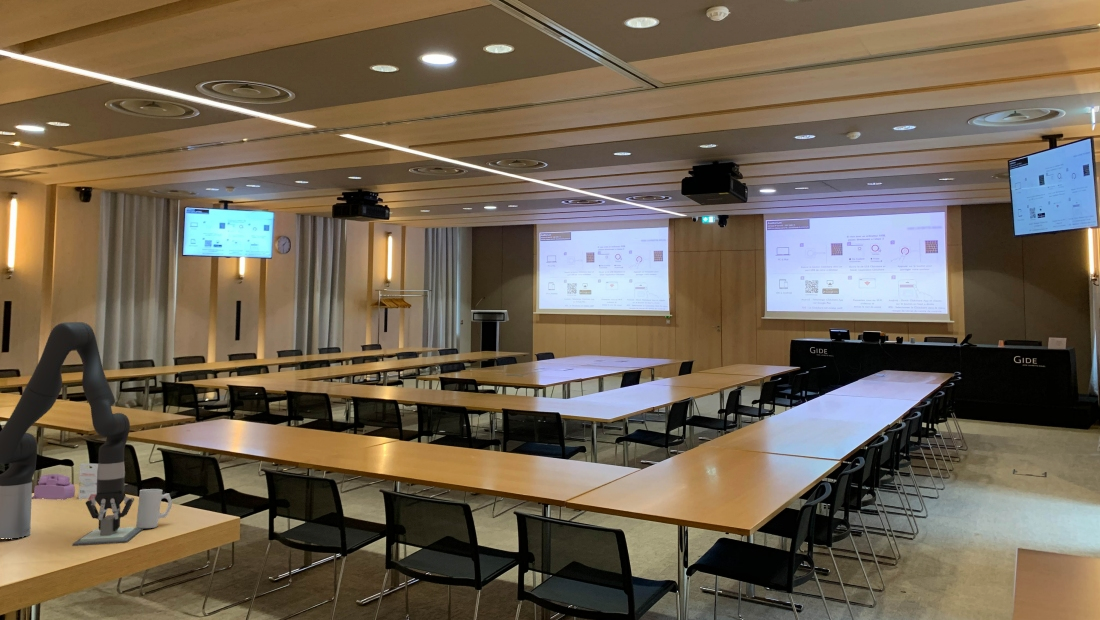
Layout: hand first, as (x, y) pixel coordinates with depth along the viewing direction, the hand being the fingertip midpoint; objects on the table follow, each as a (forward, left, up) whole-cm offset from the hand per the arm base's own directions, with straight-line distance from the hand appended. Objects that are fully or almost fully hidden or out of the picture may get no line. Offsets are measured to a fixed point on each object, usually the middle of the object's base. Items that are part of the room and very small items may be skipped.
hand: (109, 530), depth 224 cm
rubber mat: (0, 0, -2) cm, 2 cm away
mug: (+9, +10, -2) cm, 14 cm away
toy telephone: (-43, +66, -3) cm, 79 cm away
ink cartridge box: (-26, +60, -2) cm, 65 cm away
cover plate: (0, 0, -2) cm, 2 cm away
